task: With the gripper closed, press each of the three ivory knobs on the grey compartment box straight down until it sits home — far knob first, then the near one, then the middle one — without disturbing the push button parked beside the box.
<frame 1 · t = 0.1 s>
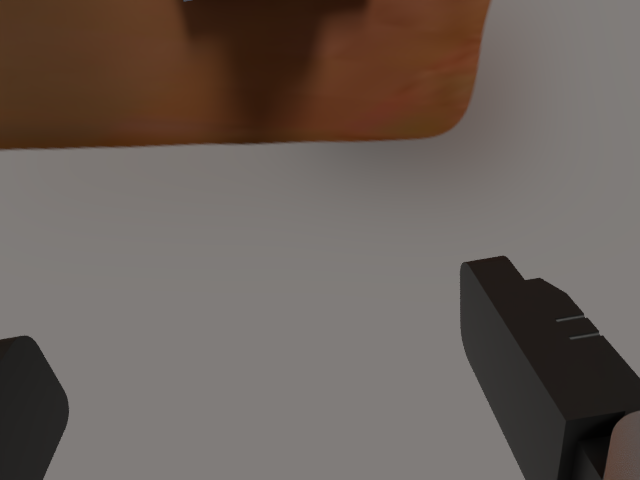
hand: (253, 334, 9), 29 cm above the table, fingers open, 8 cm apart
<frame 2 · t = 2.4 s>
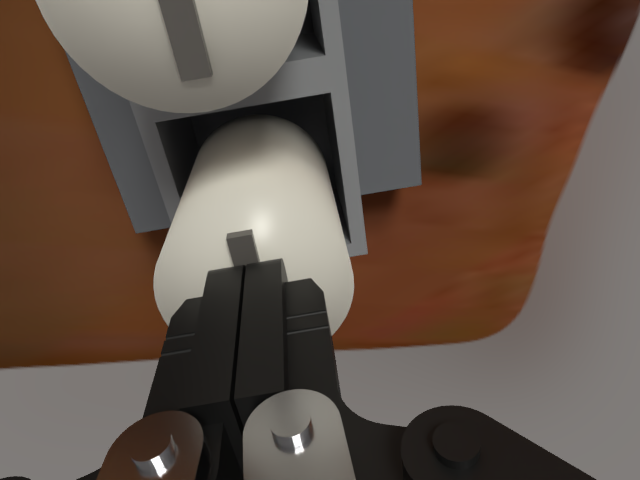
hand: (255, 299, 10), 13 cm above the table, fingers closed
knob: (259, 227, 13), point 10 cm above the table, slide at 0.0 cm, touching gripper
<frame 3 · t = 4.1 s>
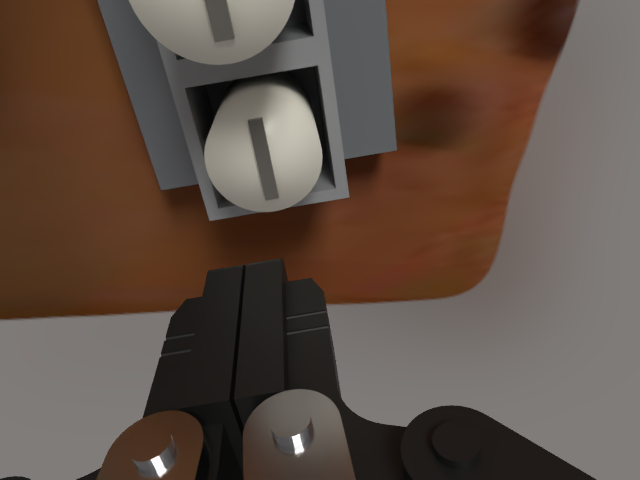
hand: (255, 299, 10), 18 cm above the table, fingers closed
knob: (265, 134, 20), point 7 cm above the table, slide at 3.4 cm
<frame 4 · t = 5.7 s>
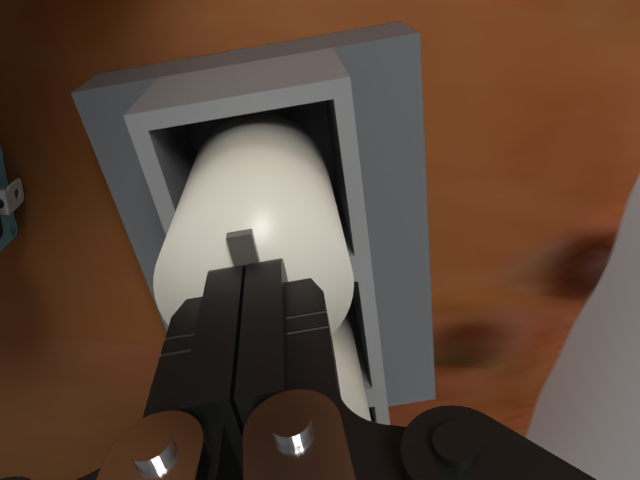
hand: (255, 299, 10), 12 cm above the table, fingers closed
grey compartment box: (289, 242, 24), on the table
knob mid: (298, 407, 15), point 10 cm above the table, slide at 0.0 cm
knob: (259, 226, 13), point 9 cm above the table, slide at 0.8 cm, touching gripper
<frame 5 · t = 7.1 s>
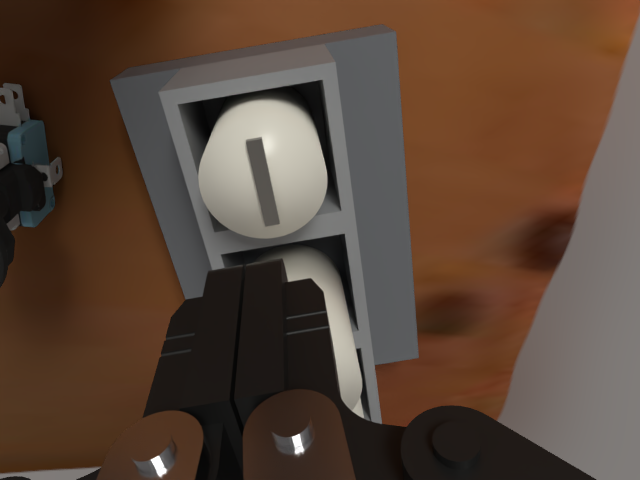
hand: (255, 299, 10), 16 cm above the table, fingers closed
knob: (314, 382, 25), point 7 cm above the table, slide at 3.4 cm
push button: (31, 148, 25), on the table
grey compartment box: (289, 216, 28), on the table
knob mid: (295, 333, 19), point 10 cm above the table, slide at 0.0 cm
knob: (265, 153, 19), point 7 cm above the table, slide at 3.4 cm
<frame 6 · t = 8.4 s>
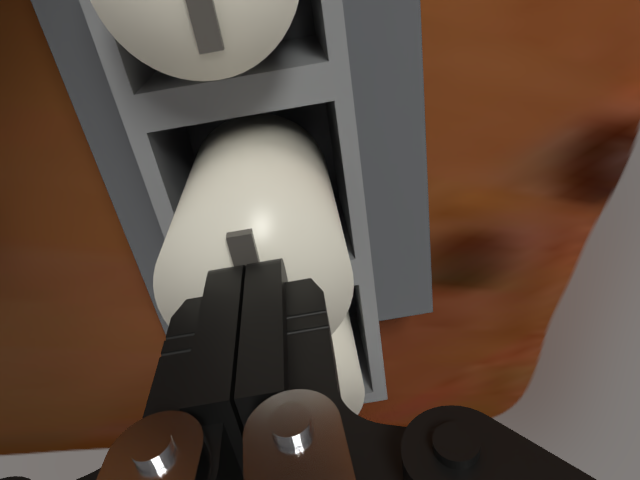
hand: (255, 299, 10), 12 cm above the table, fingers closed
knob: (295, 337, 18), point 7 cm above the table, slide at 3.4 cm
grey compartment box: (264, 123, 21), on the table
knob mid: (258, 226, 13), point 9 cm above the table, slide at 1.0 cm, touching gripper
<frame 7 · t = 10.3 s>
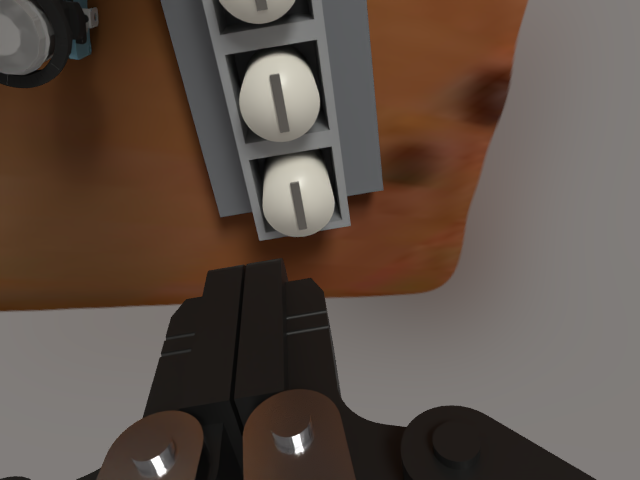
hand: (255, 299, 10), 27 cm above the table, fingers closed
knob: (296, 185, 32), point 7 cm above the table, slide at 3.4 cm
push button: (74, 1, 32), on the table
grey compartment box: (278, 68, 34), on the table
knob mid: (279, 90, 29), point 7 cm above the table, slide at 3.4 cm
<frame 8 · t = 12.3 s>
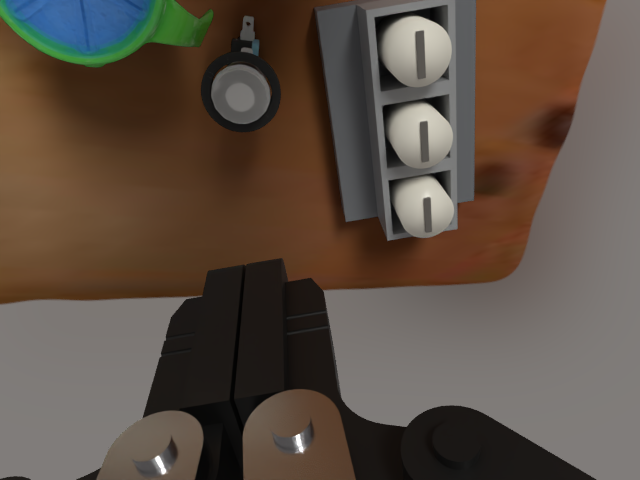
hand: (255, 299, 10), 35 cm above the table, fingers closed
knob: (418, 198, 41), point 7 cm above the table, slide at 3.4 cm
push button: (248, 58, 41), on the table
grey compartment box: (396, 106, 44), on the table
knob mid: (414, 129, 38), point 7 cm above the table, slide at 3.4 cm
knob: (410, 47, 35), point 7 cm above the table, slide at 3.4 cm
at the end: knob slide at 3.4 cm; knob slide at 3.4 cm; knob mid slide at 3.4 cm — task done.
